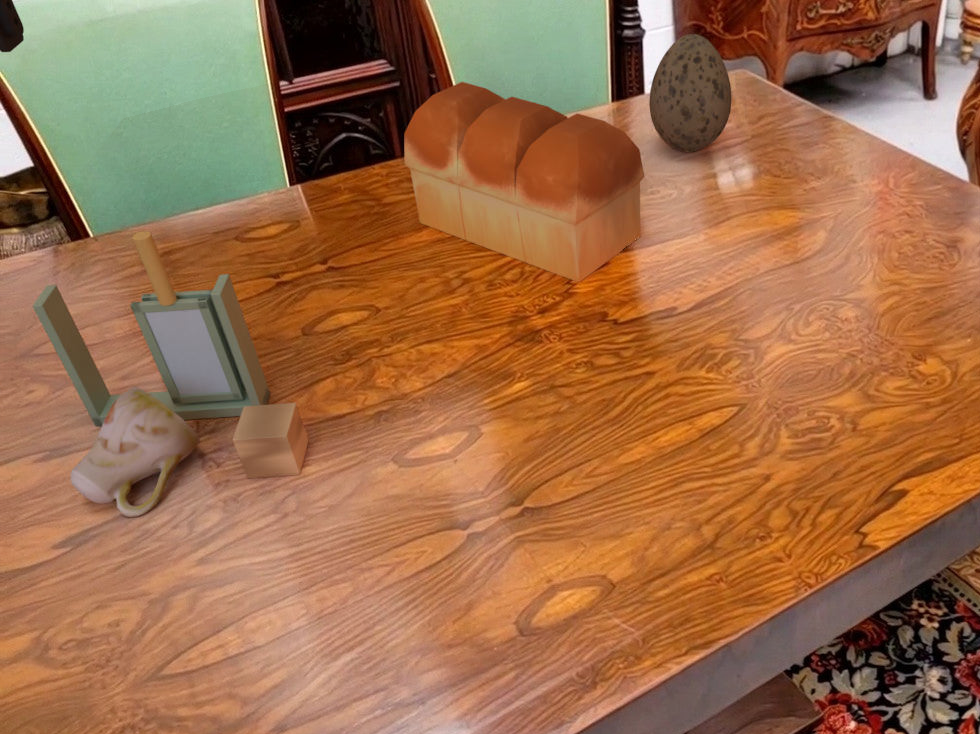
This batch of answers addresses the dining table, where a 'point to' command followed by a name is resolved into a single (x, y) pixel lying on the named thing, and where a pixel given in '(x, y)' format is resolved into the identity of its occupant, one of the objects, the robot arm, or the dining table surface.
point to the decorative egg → (690, 94)
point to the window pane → (183, 337)
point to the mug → (133, 451)
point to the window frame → (100, 400)
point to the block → (271, 440)
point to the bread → (524, 179)
